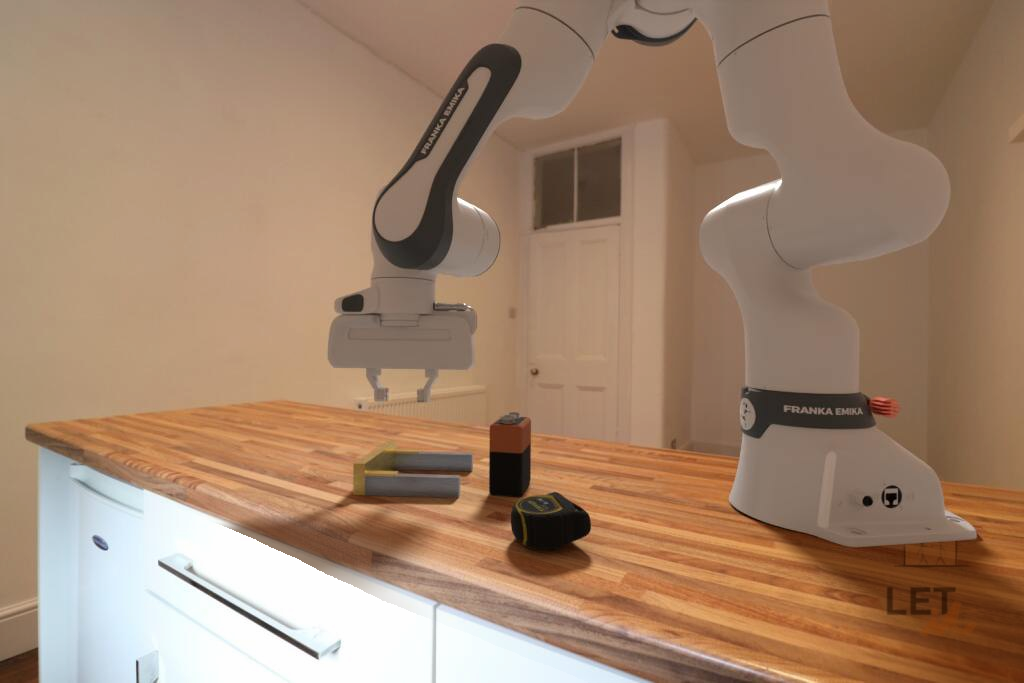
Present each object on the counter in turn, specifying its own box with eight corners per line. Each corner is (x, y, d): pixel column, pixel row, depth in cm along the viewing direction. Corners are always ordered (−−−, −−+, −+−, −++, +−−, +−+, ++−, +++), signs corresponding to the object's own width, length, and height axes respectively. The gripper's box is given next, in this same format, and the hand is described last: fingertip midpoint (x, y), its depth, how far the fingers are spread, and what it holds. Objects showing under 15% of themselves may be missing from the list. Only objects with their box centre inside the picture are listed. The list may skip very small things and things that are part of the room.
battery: (488, 495, 57) (488, 417, 57) (501, 479, 64) (501, 409, 64) (521, 498, 56) (522, 419, 56) (531, 481, 63) (531, 410, 63)
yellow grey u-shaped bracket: (472, 469, 68) (473, 443, 68) (458, 498, 56) (458, 466, 56) (386, 466, 69) (386, 441, 69) (353, 494, 57) (353, 463, 57)
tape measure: (596, 546, 41) (592, 505, 41) (527, 565, 39) (522, 522, 39) (565, 521, 48) (561, 486, 48) (504, 536, 46) (500, 499, 46)
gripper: (480, 304, 65) (479, 399, 65) (342, 303, 66) (342, 397, 66) (474, 301, 59) (473, 406, 59) (322, 300, 60) (321, 403, 60)
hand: (402, 401), depth 63 cm, fingers open, 5 cm apart
